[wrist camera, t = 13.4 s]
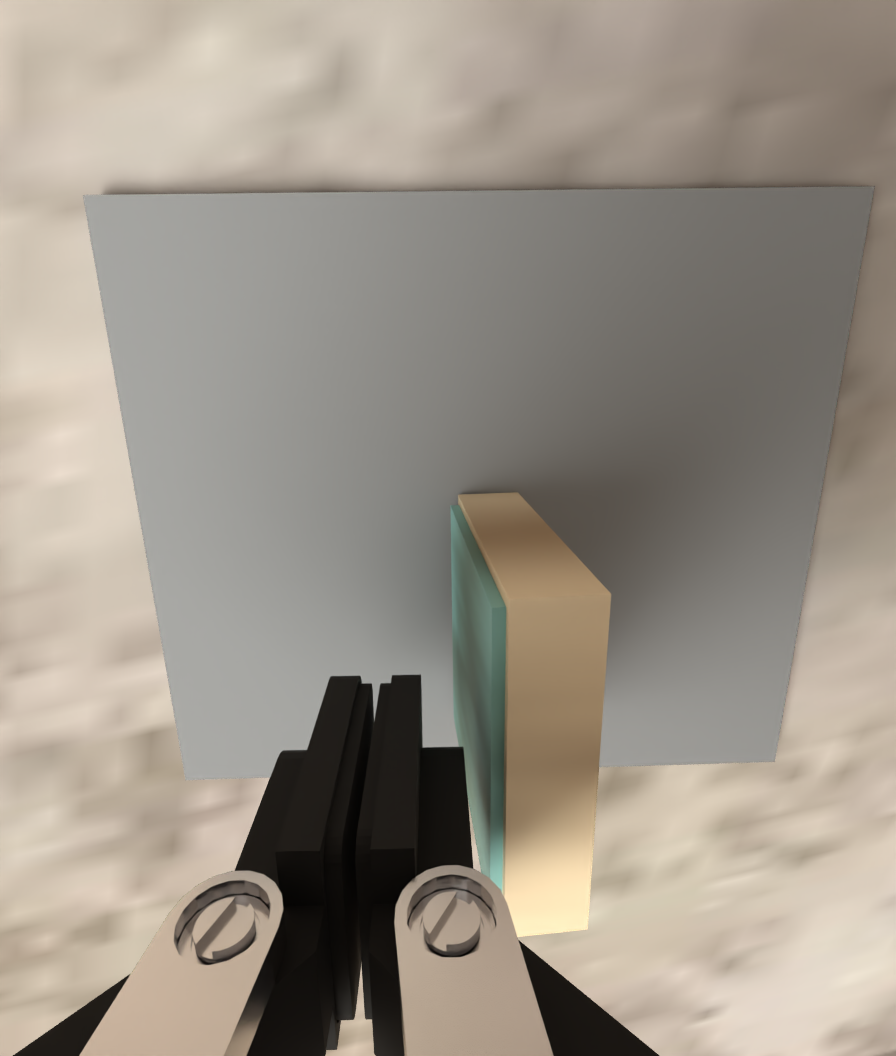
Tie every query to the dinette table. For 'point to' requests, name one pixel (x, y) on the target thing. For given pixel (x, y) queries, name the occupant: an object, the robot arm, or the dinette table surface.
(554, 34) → the dinette table surface
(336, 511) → the mat
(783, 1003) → the dinette table surface
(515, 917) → the tile
